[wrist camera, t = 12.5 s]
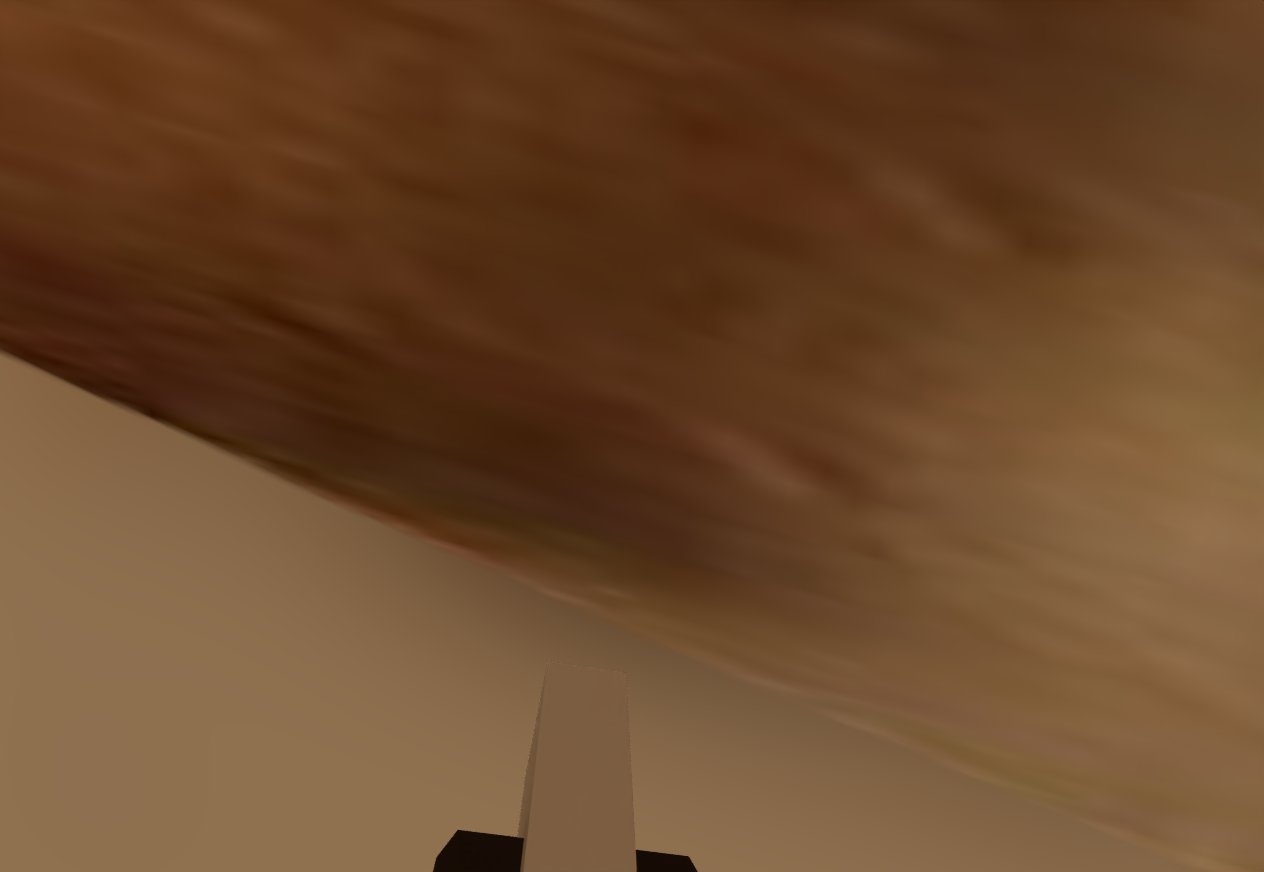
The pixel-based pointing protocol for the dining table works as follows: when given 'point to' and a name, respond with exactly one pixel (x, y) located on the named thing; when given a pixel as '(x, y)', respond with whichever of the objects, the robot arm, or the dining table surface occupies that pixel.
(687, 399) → the dining table surface
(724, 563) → the dining table surface
